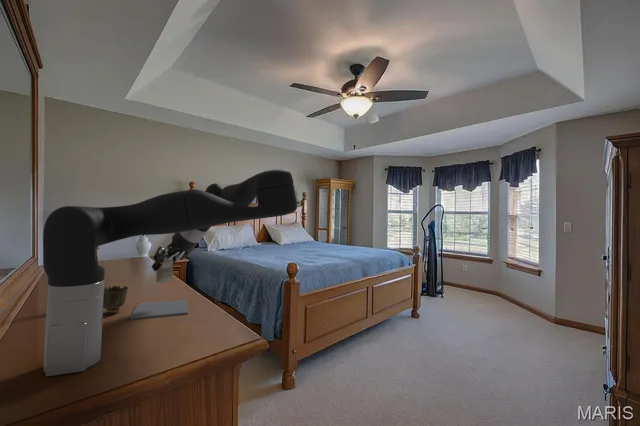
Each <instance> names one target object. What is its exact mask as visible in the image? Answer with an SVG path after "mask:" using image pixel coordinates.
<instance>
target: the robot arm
mask: <svg viewBox="0 0 640 426" xmlns="http://www.w3.org/2000/svg"><path fill="white" fill-rule="evenodd" d="M295 189H296V188H295V183H294V179H293V175H292V173H291V171H290V170H288V169H283V168H282V169H281V168H278V169H269V170H265V171H262V172H259V173H256V174H255V175H253V176H250V177H249V178H247V179H245V180H243V181H241V182H239V183H234V184H230V185H227V186H225V187H224V186H222V185H221V184H219V183H211V184H210V185H208V186H207V187H206V189H205V191H204V190H202V189H195V188H194V189H193V188H192V189H186V190H179V191H174V192H173V191H172V192H168V193H164V194H161V195H156V196H153V197H151V198H148V199H145V200H143V201H140V202H137V203H135V204H134V203H133V204H127V205H121V206H120V205H119V206H105V207H104V206H103V207H99V206H98V207H93V206H81V205H79V206H78V205H77V206H76V205H66V206H61V207H59V208H56V209H55V210H53V211H51V213H50V214H49V215H48V216H47V218H46V219H45V222H44V226H43V232H42V263H43V264H42V265H43V269H44V272H45V274H46V276H47V284H48V285H47V298H46V314H45V315H46V317H45V318H46V319H45V331H44V333H45V334H44V355H43V357H44V358H43V372H44V373H45V377H52V376H54V377H55V376H59V375H66V374H73V373H80V372H84V371H86V370H87V369H88V368H90V367H92V366H94V365H96V364H97V363H99V362H100V360H101V357H102V337H103V336H102V333H103V318H104V317H103V314H104V312H103V311H104V307H103V296H104V288H105V271H106V270H105V268H104V266H103V265H100V264H99V262H98V263H97V262H96V259H95V247H97V246H98V247H100V246H103V245H106V244H109V243H114V242H117V241H121V240H125V239H128V238H131V237H138V236H150V235H151V236H154V235H167V234H173V235H172V237H171V242H170V243H169V244H168V245H167V246H166V247H163V246H162V245H161V246H159V247H158V248H157V250H156V252H155V254H154V256H153V257H152V259H153V260H154V261H155V262H154V263H153V264H152V265H151V269H152V270H153V271H154V272H157V270H158V269H159V268H160V267H161V266H162V264H163V263H164V262H166V261H167V260H170V259H171V258H173V265H175V263H177V262H179V261H182V260H184V259H185V258H186V257H187V256H188V255H189V254H190V253H191V252H192V251H194V249H195V246H197V245H198V243H199V242H200V241H201V240H202V239H203V238H204V236H205V235H206V233H207V232H208V231H209V230H210V229H211V228H212V227H214V226H220V225H224V224H230V223H235V222H236V223H237V222H245V221H252V220H253V221H254V220H260V219H261V220H262V219H268V218H274V217H281V216H287V215H290V214H292V213H295V212H296V210H298V202H297V196H296V190H295ZM255 199H256V201H257V205H255V206H253V205H251V204H252V203H253V202H254V201H255ZM250 205H251V206H250ZM166 252H167V254H168V255H169V257H168V255H167V254H166ZM163 257H165V259H163ZM162 259H163V260H162Z"/></svg>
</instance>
